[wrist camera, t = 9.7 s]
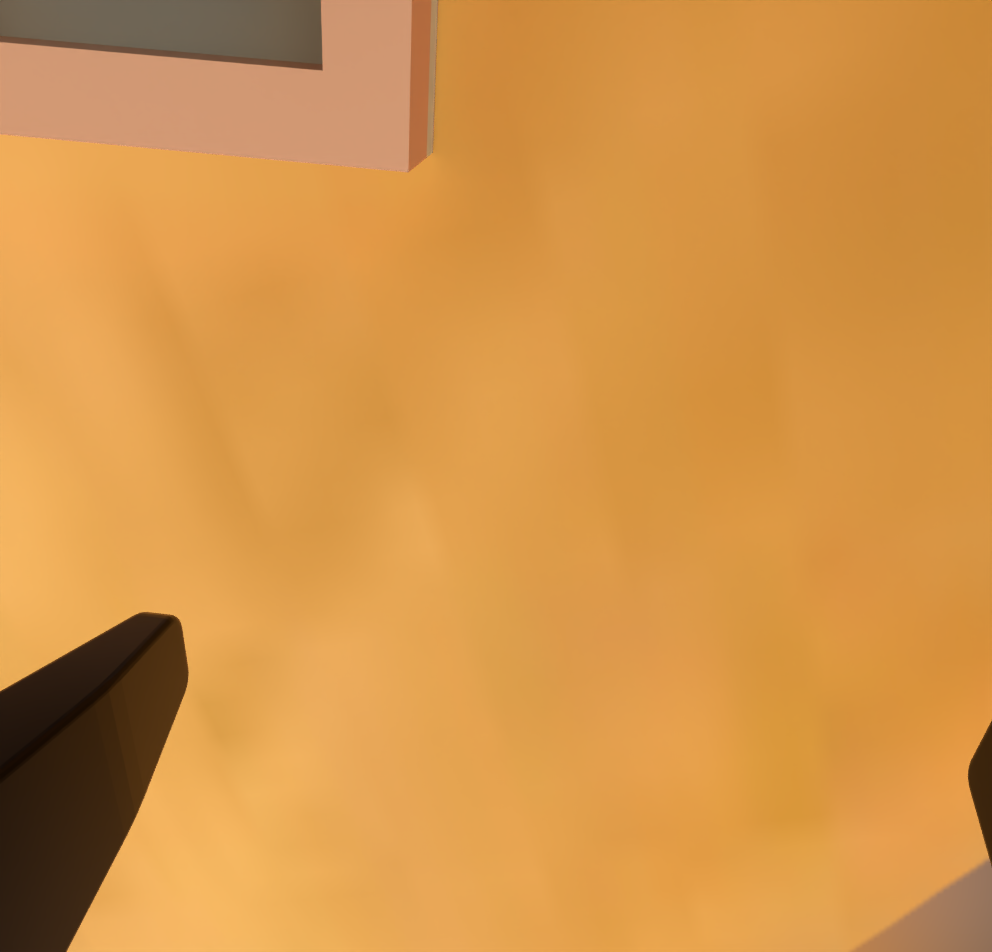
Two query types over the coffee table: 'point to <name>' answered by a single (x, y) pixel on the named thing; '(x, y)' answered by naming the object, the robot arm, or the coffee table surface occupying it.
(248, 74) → the square tray
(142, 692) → the robot arm
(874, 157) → the coffee table surface
